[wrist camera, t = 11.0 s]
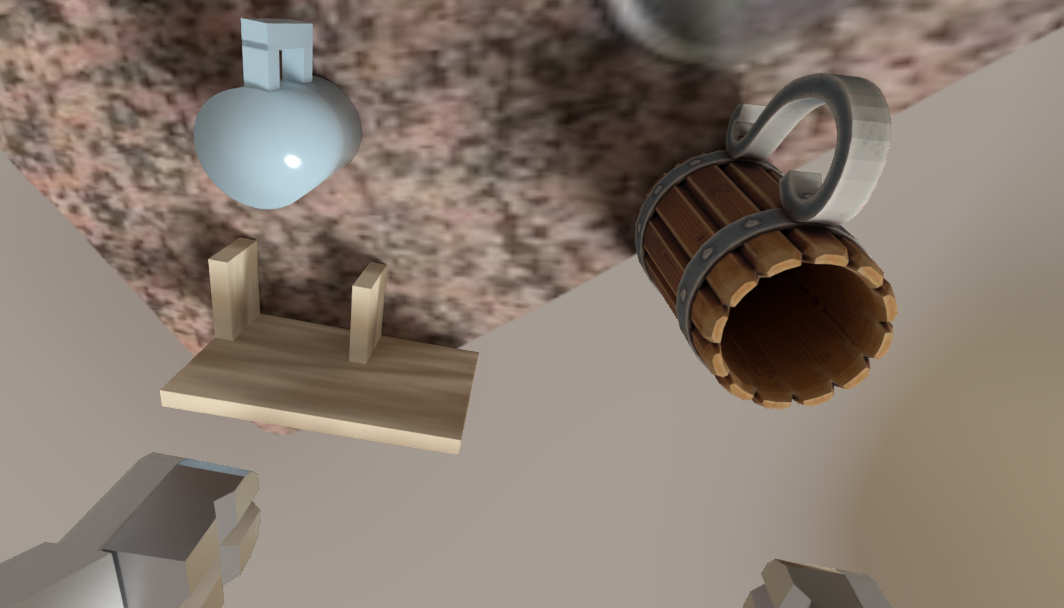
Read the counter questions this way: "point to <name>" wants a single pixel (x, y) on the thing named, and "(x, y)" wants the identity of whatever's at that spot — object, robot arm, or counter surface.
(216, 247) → the counter surface
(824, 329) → the mug
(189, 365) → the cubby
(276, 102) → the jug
